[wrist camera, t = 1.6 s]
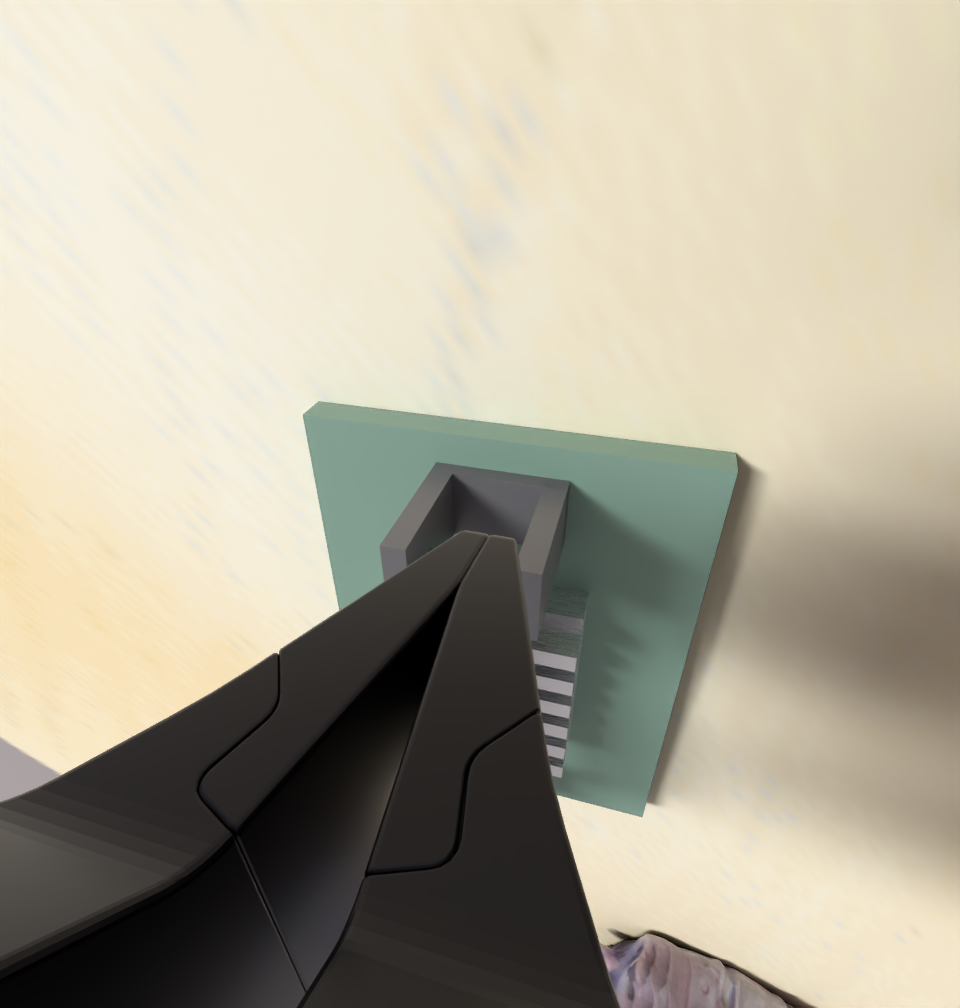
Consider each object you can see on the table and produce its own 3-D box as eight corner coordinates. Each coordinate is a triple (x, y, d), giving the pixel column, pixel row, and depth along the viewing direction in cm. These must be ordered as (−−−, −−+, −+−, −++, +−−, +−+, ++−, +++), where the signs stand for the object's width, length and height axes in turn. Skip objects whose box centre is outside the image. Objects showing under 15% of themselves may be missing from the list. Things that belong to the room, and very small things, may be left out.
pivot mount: (570, 480, 20) (542, 574, 16) (564, 541, 22) (537, 641, 18) (436, 461, 21) (379, 545, 17) (439, 521, 23) (387, 610, 19)
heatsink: (589, 592, 23) (577, 650, 20) (571, 723, 27) (560, 783, 25) (416, 560, 24) (386, 611, 22) (426, 689, 29) (403, 742, 26)
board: (735, 453, 19) (738, 471, 18) (643, 794, 31) (642, 817, 30) (318, 401, 23) (302, 415, 22) (373, 726, 34) (364, 744, 33)
